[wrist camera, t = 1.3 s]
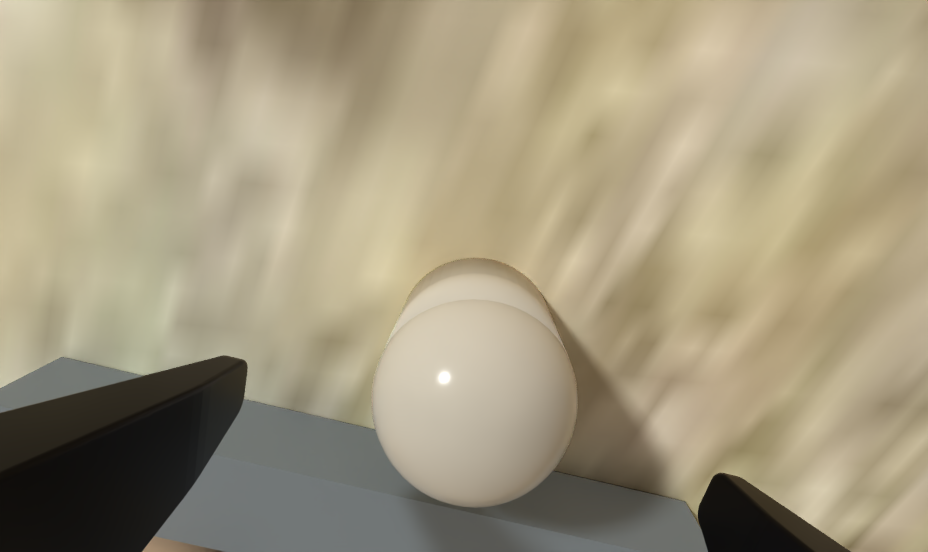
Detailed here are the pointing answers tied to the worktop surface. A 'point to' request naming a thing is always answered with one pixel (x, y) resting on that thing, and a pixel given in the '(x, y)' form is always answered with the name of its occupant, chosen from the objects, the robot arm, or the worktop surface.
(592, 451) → the worktop surface
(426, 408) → the egg
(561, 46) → the worktop surface
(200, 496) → the egg carton
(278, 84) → the worktop surface
